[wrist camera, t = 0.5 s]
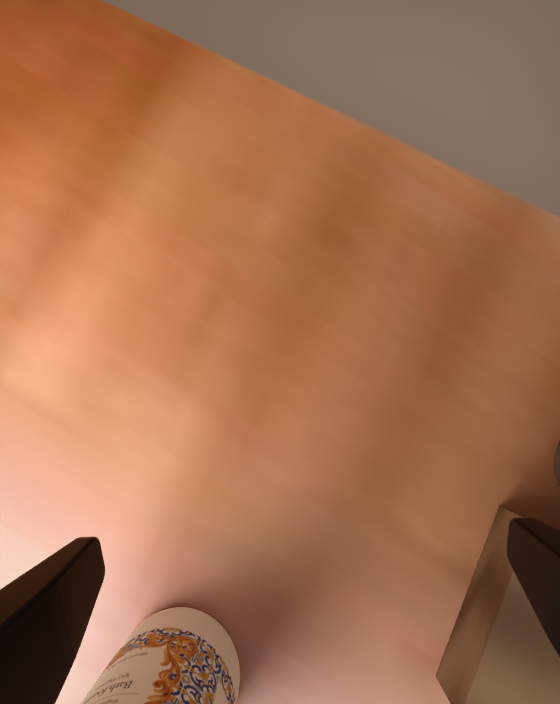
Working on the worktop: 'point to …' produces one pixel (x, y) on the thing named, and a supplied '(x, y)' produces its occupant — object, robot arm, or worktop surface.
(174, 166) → the worktop surface
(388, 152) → the worktop surface
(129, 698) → the bath foam
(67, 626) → the robot arm
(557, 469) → the canister
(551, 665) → the base block
